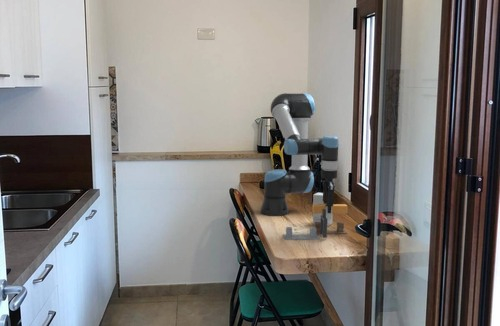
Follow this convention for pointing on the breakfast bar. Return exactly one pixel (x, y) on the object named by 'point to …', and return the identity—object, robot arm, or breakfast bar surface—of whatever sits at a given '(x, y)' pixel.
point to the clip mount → (300, 236)
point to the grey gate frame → (323, 224)
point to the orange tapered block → (335, 208)
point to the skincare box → (319, 200)
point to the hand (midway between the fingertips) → (327, 218)
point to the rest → (331, 231)
